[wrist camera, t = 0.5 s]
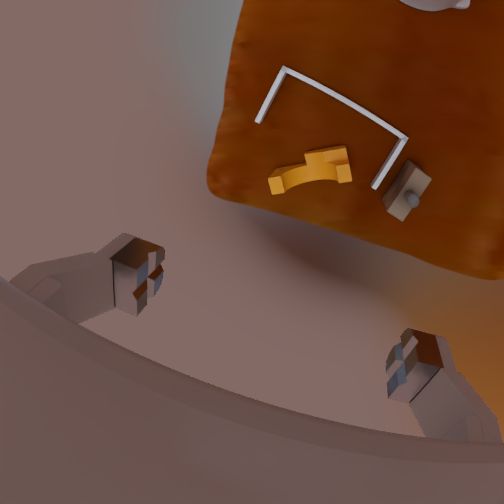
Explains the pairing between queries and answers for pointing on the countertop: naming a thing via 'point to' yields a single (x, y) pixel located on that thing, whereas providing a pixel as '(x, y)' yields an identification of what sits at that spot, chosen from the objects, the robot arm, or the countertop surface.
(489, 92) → the countertop surface
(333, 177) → the pipe clamp
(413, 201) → the block
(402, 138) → the grey staple-shaped wire
